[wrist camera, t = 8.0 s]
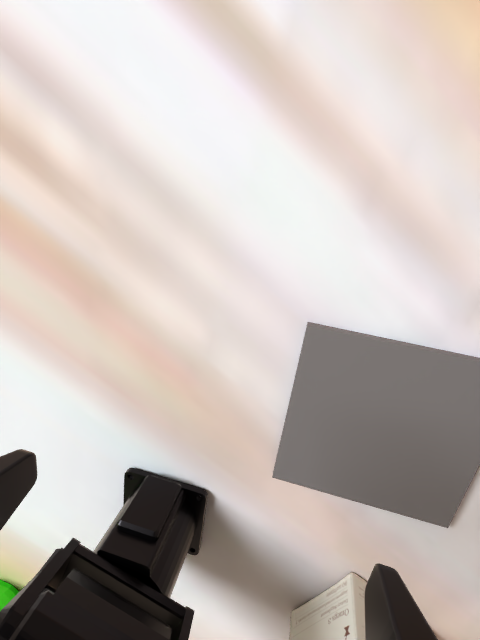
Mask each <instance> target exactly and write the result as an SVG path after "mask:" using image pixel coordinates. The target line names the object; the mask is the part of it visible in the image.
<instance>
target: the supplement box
mask: <svg viewBox="0 0 480 640" xmlns="http://www.w3.org/2000/svg"><path fill="white" fill-rule="evenodd" d="M366 584H367V582H366V581H365V580H364V579H362V578H361V577H359V576H358V575H356V574H355V573H353V572H351V573H350V574H348V575H347V576H346V577H345V578H343V579H342V580H341V581H339V582H338V583H336V584H335V585H334V586H332V587H331V588H329V589H328V590H326V591H325V592H323V593H321V594H320V595H318V596H317V597H315V598H314V599H312V600H310V601H309V602H307V603H305V604H304V605H302V606H300V607H299V608H297V609H295V610H293V611H292V613H291V623H290V637H289V640H365V588H366Z"/></svg>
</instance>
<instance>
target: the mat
mask: <svg viewBox="0 0 480 640" xmlns="http://www.w3.org/2000/svg"><path fill="white" fill-rule="evenodd" d="M479 465H480V358H477V357H472V356H468V355H463V354H458V353H453V352H449V351H444V350H439V349H434V348H429V347H425V346H420V345H415V344H410V343H406V342H401V341H396V340H391V339H386V338H382V337H377V336H372V335H367V334H363V333H358V332H353V331H348V330H343V329H339V328H334V327H329V326H324V325H320V324H315V323H310V322H308V324H307V328H306V332H305V337H304V341H303V345H302V350H301V354H300V358H299V363H298V367H297V371H296V376H295V380H294V384H293V389H292V393H291V397H290V402H289V406H288V410H287V415H286V419H285V423H284V428H283V432H282V436H281V441H280V445H279V449H278V454H277V458H276V462H275V467H274V471H273V478H276V479H280V480H283V481H286V482H290V483H293V484H297V485H300V486H304V487H307V488H311V489H314V490H318V491H321V492H325V493H328V494H332V495H335V496H338V497H342V498H345V499H349V500H352V501H356V502H359V503H363V504H366V505H370V506H373V507H377V508H380V509H384V510H387V511H390V512H394V513H397V514H401V515H404V516H408V517H411V518H415V519H418V520H422V521H425V522H429V523H432V524H436V525H439V526H442V527H446V528H448V527H449V525H450V523H451V521H452V519H453V517H454V515H455V513H456V511H457V509H458V507H459V505H460V503H461V501H462V499H463V497H464V495H465V493H466V491H467V489H468V487H469V485H470V483H471V481H472V479H473V477H474V475H475V473H476V471H477V469H478V467H479Z"/></svg>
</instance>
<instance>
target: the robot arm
mask: <svg viewBox="0 0 480 640" xmlns="http://www.w3.org/2000/svg"><path fill="white" fill-rule="evenodd" d="M36 479H37V463H36V455H35V454H34V453H33V452H30V451H26V450H23V449H20V450H16V451H13V452H11V453H8V454H6V455H3V456H1V457H0V530H1V529H2V527H3V526H4V525H5V523H6V522H7V521H8V519H9V518H10V517H11V515H12V514H13V513H14V511H15V510H16V508H17V507H18V506H19V504H20V503H21V502H22V500H23V499H24V498H25V496H26V495H27V494H28V492H29V491H30V490H31V488H32V487H33V485H34V484H35V482H36ZM207 497H208V494H207V492H206V491H205V490H203V489H201V488H197V487H194V486H191V485H188V484H184V483H181V482H178V481H174V480H171V479H168V478H165V477H161V476H158V475H155V474H151V473H148V472H145V471H142V470H138V469H135V468H129V469H128V470H127V471H126V473H125V476H124V506H123V507H122V509H121V510H120V512H119V513H118V515H117V516H116V518H115V520H114V521H113V523H112V524H111V526H110V527H109V529H108V530H107V532H106V533H105V535H104V536H103V538H102V539H101V541H100V542H99V544H98V545H97V547H96V548H95V550H94V552H93V551H91V550H89V549H88V548H86V547H84V546H83V545H81V544H80V543H81V542H80V541H78V540H76V539H75V538H73V539H72V540H71V541H70V542H69V543H68V544H67V546H66V547H65V548H64V549H63V548H61V549H56V550H55V552H54V553H53V554H52V555H51V557H50V558H49V559H48V561H47V562H46V563H45V565H44V566H43V567H42V568H41V570H40V571H39V572H38V573H37V574H36V576H35V577H34V578H33V579H32V580H31V581H30V582H29V583H28V584H27V585H26V586H25V587H24V588H23V589H22V590H21V591H20V592H19V593H18V594H17V595H16V596H15V597H14V598H13V599H12V600H11V601H10V602H9V603H8V604H7V605H6V606H5V607H4V608H3V609H2V610H1V611H0V640H188V638H189V634H190V629H191V624H192V620H193V615H194V610H192V609H190V608H189V607H187V606H186V607H184V606H182V605H180V604H179V603H177V602H175V601H174V600H172V599H170V597H171V594H172V591H173V589H174V586H175V583H176V581H177V578H178V576H179V573H180V570H181V568H182V565H183V562H184V560H185V557H186V555H187V553H189V554H191V555H197V554H198V552H199V549H200V545H201V538H202V531H203V524H204V517H205V511H206V504H207ZM365 640H438V639H437V638H436V636H435V634H434V632H433V631H432V629H431V627H430V626H429V624H428V622H427V621H426V619H425V617H424V616H423V614H422V612H421V611H420V609H419V607H418V606H417V604H416V602H415V601H414V599H413V597H412V596H411V594H410V592H409V591H408V589H407V587H406V586H405V584H404V582H403V581H402V579H401V577H400V576H399V574H398V572H397V571H396V570H395V569H393V568H391V567H388V566H385V565H382V564H376V565H375V566H374V568H373V571H372V573H371V575H370V578H369V580H368V582H367V584H366V588H365Z"/></svg>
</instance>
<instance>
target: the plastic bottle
mask: <svg viewBox="0 0 480 640" xmlns="http://www.w3.org/2000/svg"><path fill="white" fill-rule="evenodd" d="M18 593H19V591H18V590H17V589H16V588H15V587H14V586H13V585H11V584H9V583H6V582H4V581H2V580H0V611H1V610H2V609H3V608H4V607H5V606H6V605H7V604H8V603H9V602H10V601H11V600H12V599H13V598H14V597H15V596H16V595H17V594H18Z"/></svg>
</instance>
